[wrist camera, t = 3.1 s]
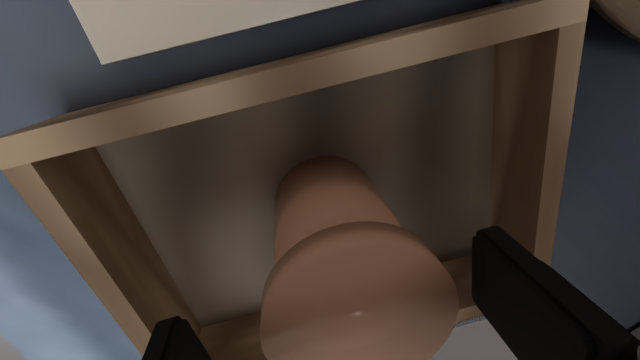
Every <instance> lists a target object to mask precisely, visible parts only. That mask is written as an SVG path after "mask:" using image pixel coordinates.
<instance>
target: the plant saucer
mask: <svg viewBox="0 0 640 360" xmlns="http://www.w3.org/2000/svg"><path fill="white" fill-rule="evenodd" d="M589 6H590V7H591V8H593V9H594V10H595V11H596V12H597V13H598V14H599V15H600V16H602V17H603V18H604V19H605V20H606V21H607V22H608V23H609V24H611V25H612V26H613V27H615V28H616V29H617V30H619V31H620V32H622V33H623V34H625V35H626V36H628V37H629V38H631V39H633V40H635V41H637V42H639V43H640V0H590V1H589Z"/></svg>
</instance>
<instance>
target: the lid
mask: <svg viewBox="0 0 640 360" xmlns="http://www.w3.org/2000/svg"><path fill="white" fill-rule="evenodd" d="M429 360H518V359H517V358H516V357H515V355H514V354H513V353H512V351H511V350H510V349H509V347H508V346H507V345H506V344H505V342H504V341H503V340H502V338H501V337H500V336H499V334H498V333H497V332H496V330H495V329H494V328H493V327H492V325H491V324H490V323H489V321H488V320H487V319H484V320H481V321H477V322H473V323H470V324H466V325H463V326H459V327H455V328H453V330H452V332H451V333H450V335H449V337H448V339H447V340H446V341H445V343H444V344H443V345H442V347H441V348H440V349H439V350H438V351H437V352H436V353H435V354H434V355H433V356H432V357H431V358H430V359H429Z"/></svg>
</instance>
